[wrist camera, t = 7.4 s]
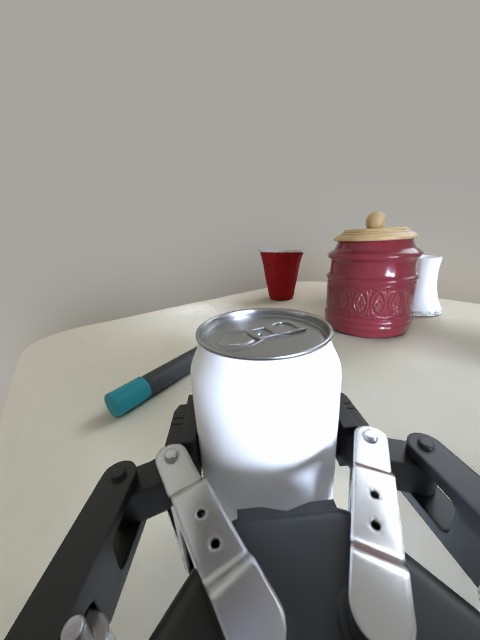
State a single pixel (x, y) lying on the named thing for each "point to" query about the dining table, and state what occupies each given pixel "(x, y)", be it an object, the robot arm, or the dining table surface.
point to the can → (267, 407)
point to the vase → (427, 287)
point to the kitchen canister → (373, 280)
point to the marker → (148, 384)
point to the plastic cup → (281, 272)
